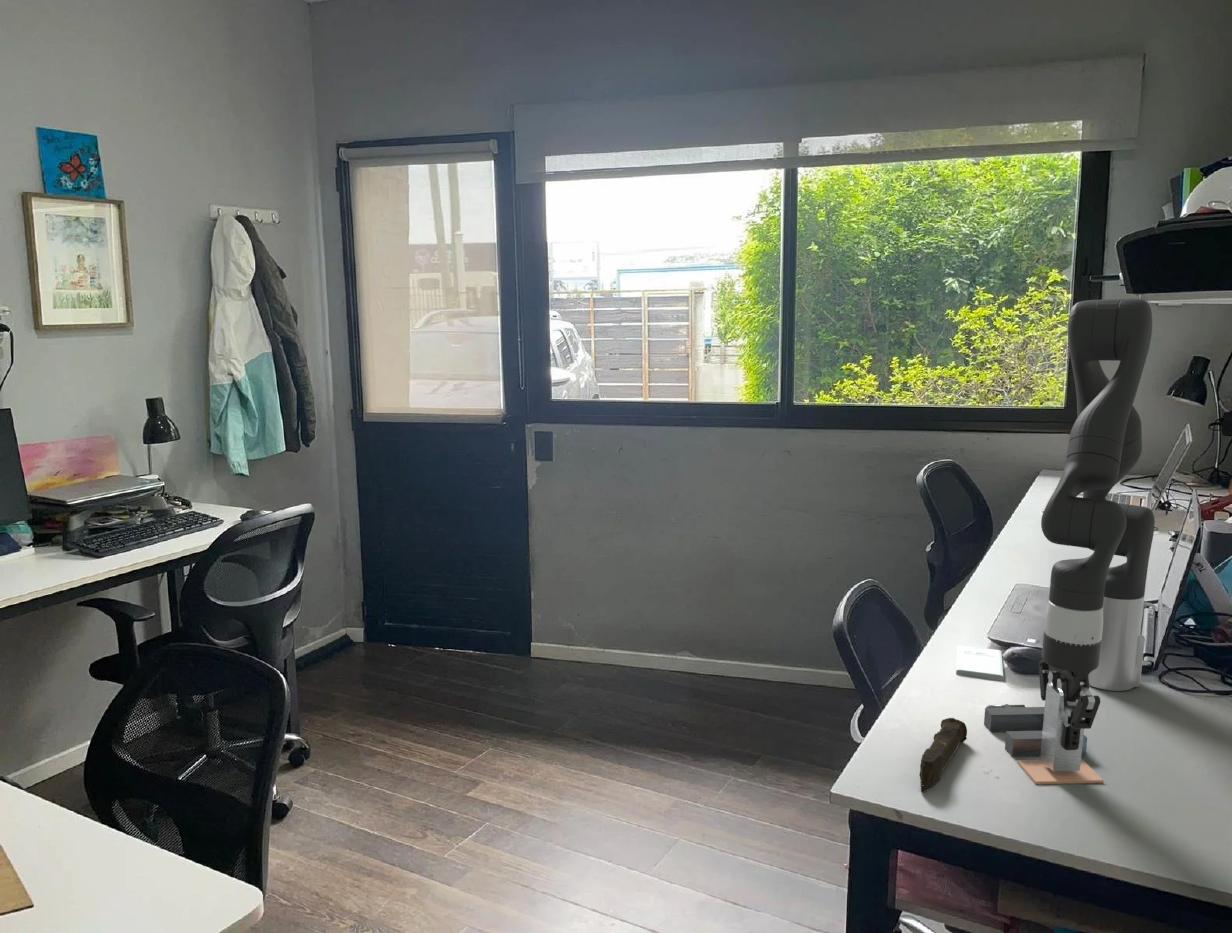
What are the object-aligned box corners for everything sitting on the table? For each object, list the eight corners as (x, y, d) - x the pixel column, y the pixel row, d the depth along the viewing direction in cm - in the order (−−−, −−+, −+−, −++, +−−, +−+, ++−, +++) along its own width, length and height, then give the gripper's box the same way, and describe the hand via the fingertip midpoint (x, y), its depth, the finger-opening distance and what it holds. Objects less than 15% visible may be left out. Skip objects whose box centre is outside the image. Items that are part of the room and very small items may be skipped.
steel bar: (1066, 756, 139) (1073, 683, 137) (1079, 770, 135) (1087, 695, 133) (1040, 757, 139) (1046, 683, 137) (1052, 771, 135) (1060, 695, 133)
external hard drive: (955, 677, 172) (956, 651, 183) (1003, 683, 169) (1001, 657, 180) (956, 669, 172) (957, 644, 183) (1003, 675, 169) (1001, 649, 180)
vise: (1042, 713, 156) (1044, 697, 155) (1085, 755, 142) (1087, 737, 142) (975, 714, 156) (976, 698, 155) (1011, 756, 142) (1013, 739, 141)
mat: (1081, 761, 141) (1081, 759, 140) (1102, 782, 135) (1103, 780, 135) (1016, 762, 140) (1017, 760, 140) (1035, 783, 134) (1035, 781, 134)
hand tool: (941, 736, 149) (942, 710, 148) (966, 743, 147) (968, 716, 146) (902, 789, 134) (904, 760, 133) (930, 798, 132) (932, 768, 131)
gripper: (1125, 651, 126) (1113, 765, 130) (1073, 614, 140) (1063, 718, 144) (1071, 652, 126) (1060, 766, 129) (1024, 615, 140) (1015, 719, 143)
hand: (1062, 740), depth 136 cm, fingers closed on steel bar, 4 cm apart
